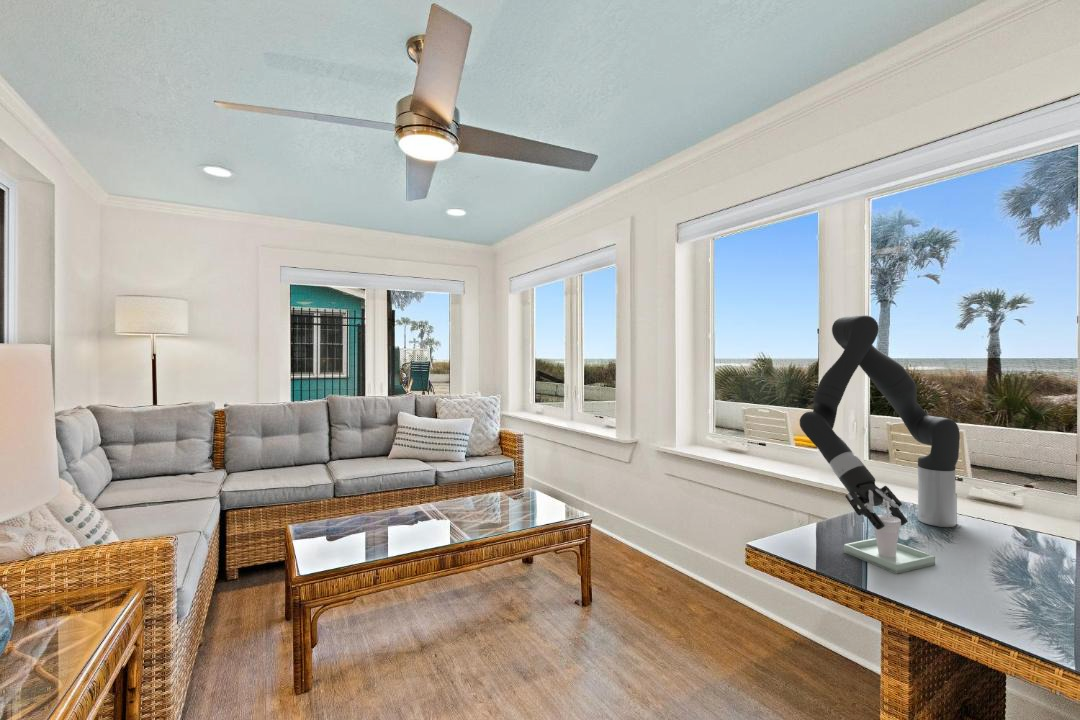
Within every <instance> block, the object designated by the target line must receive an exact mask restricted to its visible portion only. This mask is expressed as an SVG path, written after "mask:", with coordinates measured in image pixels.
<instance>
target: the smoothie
mask: <svg viewBox="0 0 1080 720" xmlns="http://www.w3.org/2000/svg"><path fill="white" fill-rule="evenodd" d="M886 503H887V510H886V514H883V513H882V514H881V513H880V514H877V513H876V514H877V516H878V517H879V518H880V520H881V521H882V522H883V524H884V527H883V528H881V529H879V530H877V529H876V528H875V527H874V526H873V529H874V534H875V538H876V541H877V547H878V553H879V555H881V556H884V557H888V558H894V557H896V550H897V543H899V542H898V541H899V533H900V527H901V526H902V525H901V520H900V519H899V518H897V517H894V516H892V515H891V514H890V511H889V507H890V505H889V502H888V501H887V502H886Z"/></svg>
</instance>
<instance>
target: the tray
mask: <svg viewBox="0 0 1080 720" xmlns="http://www.w3.org/2000/svg"><path fill="white" fill-rule="evenodd" d="M843 552H844V554H847V555H850V556H851V557H854V558H856V559H860V560H862V561H864V562H867V563H868V564H872V565H874V566H877V567H879V568H881V569H884V570H886V571H889V572H891V573H893V574H896V575H897V574H902V573H907V572H910V571H914V570H918V569H919V570H920V569H924V568H927V567H931V566H935V565H936V555H933V554H930V553H927V552H924V551H921V550H918V549H916V548H913V547H911V546H908V545H904V544H902V543H899V542H897V550H896V557H894V558H888V557H884V556H881V555H879V553H878V547H877V541H876V537H874V538H868V539H863V540H858V541H854V542H849V543H844V544H843Z"/></svg>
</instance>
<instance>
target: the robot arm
mask: <svg viewBox="0 0 1080 720" xmlns="http://www.w3.org/2000/svg"><path fill="white" fill-rule="evenodd" d="M879 329H880V328H879V324H878V322H877V320H876V319H875V318H874V317H872V316H870V315H865V314H864V315H850V316H849V315H848V316H842V317H840V318H839V317H838V319H835V321H834V322H833V323H832V327H831V333H832V336H833V339H834V340H835V341H836V343H837V344H838V345H839V346H840V347H841V348H842V350H843V351H842V353H841V355H840V356H839V358H837V360H836V361H835V363H833V364H832V366H831V367H829V369H828V370H827V371H826V372H825V373H824V374H823V375H822V377H821V380H820V381H819V383H818V385H817V387H816V390H815V392H814V394H813V399H812V402H813V405H814V407H813V409H812V411H810V410H809V411H807V412H805V413H803V414H802V415H800V418H799V426H800V429H801V431H802V432H803V433H804V434H805V436H806V437H807V438H808V439H809V440H810V442H812V443H813V444H814V446H815V447H816V448H817V449H818V451H819V452H820V453H821V455H822V457H823V458H824V460H825V461H826V462H827V463H828V464H829V466H830V468H831V470H832V472H833V473H834V475H835V476H836V477H837V478H838V480H839V481H840V482H841V484H842V485H843V486H844V488H845V489H846V491H848V492H847V494H846V495H845V498H846V499H847V500H846V501H848V503H849V505H851V507H852V509H853V510H854V512H855V514H857V516H864V518H865V517H866V518H867V520H868V521H869V522H870V523H871V525H872V526H873V528H874V527H875V528H876V529H877V530H879V529H881V528H883V527H884V524H883V522H882V521H881V520H880V518H879V517H878V516H877V512H874V507H880V508H881V509H885V510H886V511H887V503H886V502H887V501H888V502H889V513H890V515H891V516H894V517H897V518H899V519H900V520H901V525H900V526H905V525H906V524H908V519H907V517H906V516H905V515H904V514H903V512H902V511H901V510H900V507H901V506H902V505H903V503H902V502H901V501H900V499H899V498H898V497H897V496H896V495H895V493H894V492H893V491H891V489H890V488H889V487H888V486H887V485H884V486H882V487H880V488H879V486H878V485H876V478H875V477H874V475H873V474H872V473H871V471H870V470H869V469H868V468H867V467H866V465H865V464H864V463H863V461H862V460H861V459H860V458H859V457H858V456H857V455H856V454H855V453H854V452H853V451H852V450H851V448H850V447H849V445H847V443H846V442H845V441H844V440H843V438H841V437H840V436H839V435H837V433H836V432H835V431H834V430H833V429H834V426H835V422H836V417H837V412H838V407H839V405H840V403H841V400H843V399H842V398H843V397H844V393H845V391H846V389H847V387H848V385H849V383H850V381H851V379H852V377H853V375H854V374H855V372H856V371H857V369H858V368H859V367H860V368H861V369H862V371H863V372H864V374H865V375H867V377H868V378H869V379H870V380H871V381H872V384H873V385H874V386H875V387H876V389H878V391H879V392H880V393H881V395H882V396H883V397H884V398H885V399H886V400H887V402H888V403H889V404H890V406H891V407H892V409H894V411H895V412H896V414H897V415H898V416H899V417H900V419H901V420H902V422H903V424H904V426H905V427H906V428H907V430H908V432H909V434H910V435H911V437H912V438H913V439H915V441H917V442H918V443H921V444H923V445H928V446H930V453H929V454H927V455H922V456H919V457H918V458H917V515H918V516H917V520H918V521H919V522H921V523H923V524H926V525H929V526H934V527H940V528H953V527H956V526H957V524H958V494H957V492H956V491H957V490H956V486H957V485H956V465H957V463H958V461H959V457H960V456H959V455H960V439H961V435H960V434H961V433H960V428H959V425H958V424H957V422H956V421H955V420H953V419H951V418H946V417H941V416H932V415H930V414H928V413H927V412H926V411H925V410H924V409H923V407H922V406H921V405H920V404H919V402H918V399H917V396H918V393H917V392H918V389H917V387H918V386H917V384H916V382H915V380H914V379H913V377H912V375H911V374H910V373H909V372H908V371H907V370H906V368H905V367H904V366H903V365H902V364H900V362H897V360H895V359H893V358H892V357H891V356H888V355H887V354H886V353H884V352H883V351H880V350H879V349H878V348H877V347H875V345H873V344H874V343H875V341H876V339H877V337H878V334H879ZM892 500H893V501H892Z"/></svg>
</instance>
